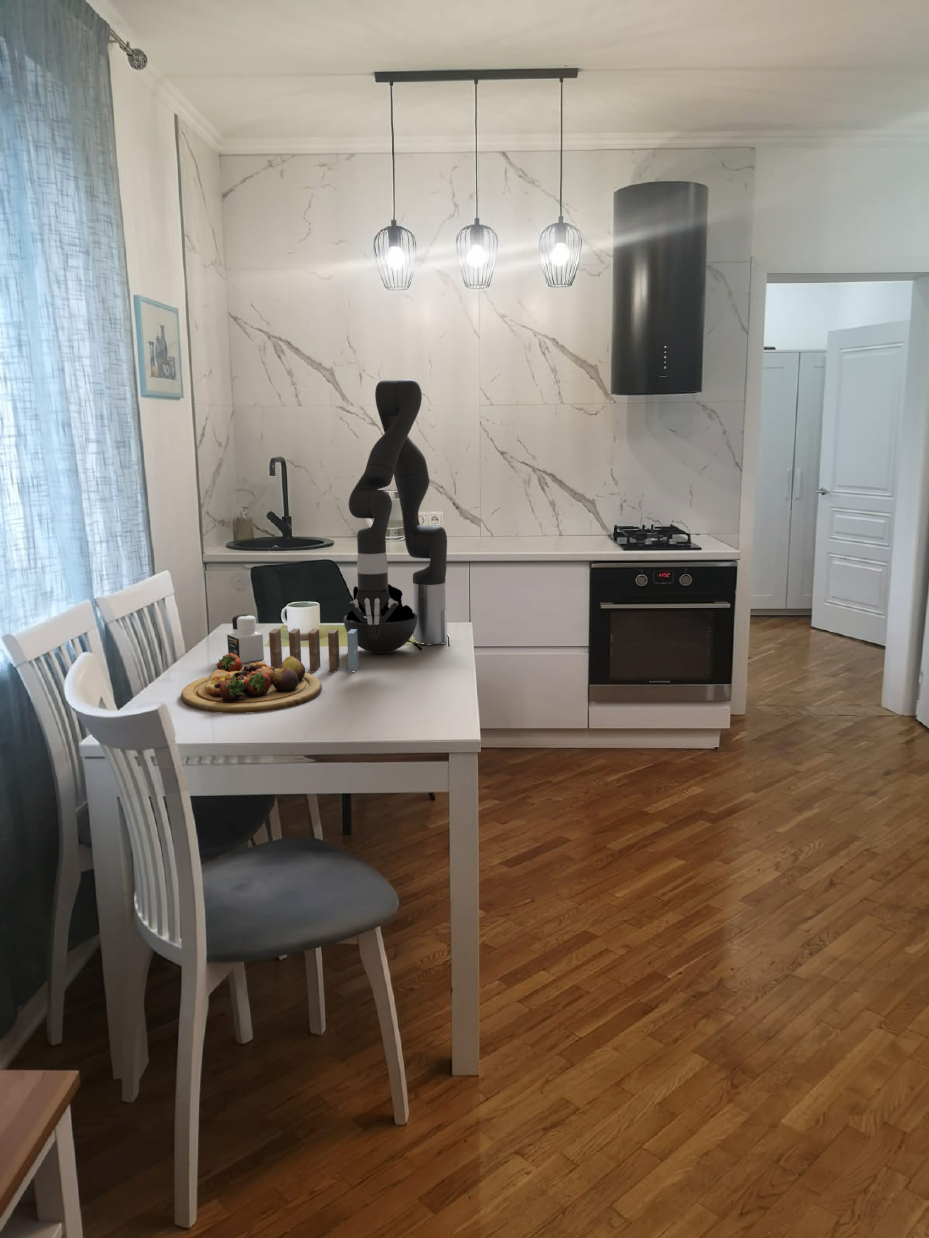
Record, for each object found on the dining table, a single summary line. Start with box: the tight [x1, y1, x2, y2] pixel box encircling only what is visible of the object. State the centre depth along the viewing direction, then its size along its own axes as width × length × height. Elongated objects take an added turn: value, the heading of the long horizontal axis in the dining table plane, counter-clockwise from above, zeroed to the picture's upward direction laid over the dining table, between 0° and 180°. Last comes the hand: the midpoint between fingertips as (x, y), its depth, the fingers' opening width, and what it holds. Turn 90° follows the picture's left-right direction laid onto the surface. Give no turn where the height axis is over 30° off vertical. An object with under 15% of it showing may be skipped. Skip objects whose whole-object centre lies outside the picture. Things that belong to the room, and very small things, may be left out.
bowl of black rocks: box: [342, 583, 417, 654], centre depth 261 cm, size 20×20×19 cm
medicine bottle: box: [226, 614, 265, 664], centre depth 256 cm, size 7×7×12 cm
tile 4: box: [288, 628, 302, 663], centre depth 245 cm, size 2×5×10 cm, turn 176°
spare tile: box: [346, 629, 359, 673], centre depth 244 cm, size 2×5×10 cm, turn 176°
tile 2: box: [327, 628, 341, 673], centre depth 244 cm, size 2×5×10 cm, turn 175°
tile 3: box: [307, 628, 322, 673], centre depth 245 cm, size 2×5×10 cm, turn 176°
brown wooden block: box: [268, 628, 283, 669], centre depth 245 cm, size 2×5×10 cm, turn 176°
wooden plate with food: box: [180, 653, 323, 714], centre depth 223 cm, size 32×32×8 cm
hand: (374, 638), depth 243 cm, fingers closed
